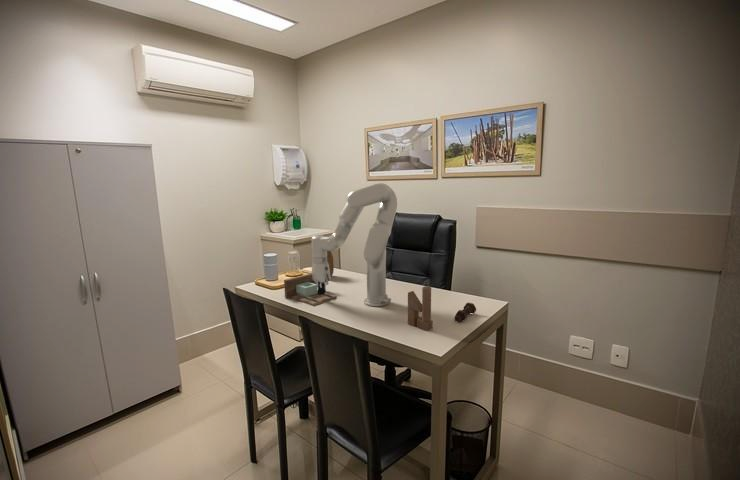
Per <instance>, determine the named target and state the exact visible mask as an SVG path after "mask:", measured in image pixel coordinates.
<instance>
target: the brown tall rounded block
mask: <svg viewBox="0 0 740 480" xmlns="http://www.w3.org/2000/svg"><path fill="white" fill-rule="evenodd" d="M327 263H328V264H329V268H330V278H331V277H333V274H334V267H335V266H334V255H333V254H332V251H327Z"/></svg>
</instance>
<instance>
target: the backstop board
mask: <svg viewBox="0 0 740 480" xmlns="http://www.w3.org/2000/svg"><path fill="white" fill-rule="evenodd" d="M306 282H310V283H313V284H316V283H315V282H314V280H313V279H312V272H311V273H307V274H303V275H299V276H294V277H290V278H286V279H284V280H283V285H284V286H283V287H284V298H285V299H293V300H294V301H298V302H301V303H304V304H306V305H310V306H313V307H315V306H317V305H320V304H322V303H325V302H329V301H333V300H336V299H337V298H338V296H337V295H334V294H330V293H328V292H325V294H323V295H318V294H314V295H311V296H308V297H307V296H304V295H301V294H298V293H297V292H296V285H299V284H302V283H306ZM317 291H318V289H317Z"/></svg>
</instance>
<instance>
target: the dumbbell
mask: <svg viewBox="0 0 740 480" xmlns="http://www.w3.org/2000/svg"><path fill="white" fill-rule="evenodd" d="M476 311H477V307H476V305H475V304H474V303H473V302H466V303H465V305H464V306H463V309H459V310H458V311H457V312H456V314H455V315H454V321H455V322H456V321H457V323H460V322H462V321H461V320H464V321H465V320H466V319H467V318H468V316H469V315H471V314H470V313H474V314H475V313H476Z"/></svg>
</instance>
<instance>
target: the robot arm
mask: <svg viewBox="0 0 740 480" xmlns="http://www.w3.org/2000/svg"><path fill="white" fill-rule="evenodd" d="M346 198H347V199H346V201H347V202H346V203H345V205H344V207H343V209H342V210H341V212H340V214H339V217H338V219H339V221H338V224H337V226H336V228H335V229H334V232H333V233H332V234H331V235H330V236H325V235H314V236H312V237H311V255H312V257H311V258H312V259H311V260H312V262H311V273H312V279H313V280H314V282H315V283H316V284H317V290H318V295H323V294H325V293H326V291H325V285H326V286H328V285H329V284H330V283H329V282H331V279H332V278H331V277H330V268H329V264H328V263H327V251H331V252H335V251H337V250H339V249H340V248H342V246H343V245H344V244H345V242H346V240H347V239H348V237H349V235H350V233H351V231H352V229H353V228H354V225H355V223H356V222H357V220H358V219H359V216H360V215H361V214H362V212H363V210H364V208H365V207H368V206H371V205H374V204H379V208H378V210H377V215H376V217H375V222H374V223H373V224H372V225H371V227H370V229H369V231H368V236H367V238H366V242H365V246H364V250H363V257H364V260H365V261H366V298H365V299H364V300H363V303H364V304H365V305H366V306H368V307H384V306H386V305H389V304H390V303H391V301H392V298H390V297H389V296H388V294H387V291H386V289H387V288H386V285H387V283H386V282H387V279H386V278H387V277H386V276H387V273H386V272H387V271H386V270H387V269H386V268H387V265H386V264H387V244H388V241H389V238H390V236H391V234H392V228H393V224H394V222H395V221H394V220H395V217H396V213H397V210H398V209H397V208H398V198H397V196H396V193H395V191H394V190H393V188H392V187H390V186H389V185H388V184H387V183H385V182H384V183H382V182H381V183H380V182H379V183H374V184H372V185H369V186H365V187H363V188H362V187H361V188H359V189H355V190H352V191H350V192H349V194H347V197H346Z"/></svg>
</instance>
